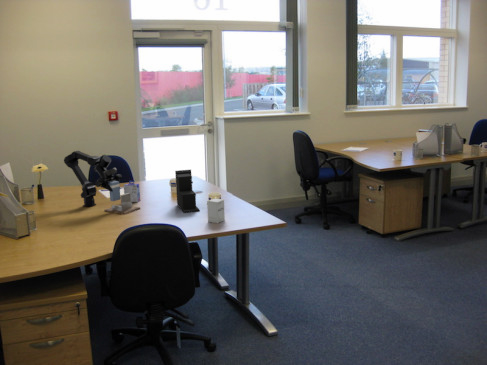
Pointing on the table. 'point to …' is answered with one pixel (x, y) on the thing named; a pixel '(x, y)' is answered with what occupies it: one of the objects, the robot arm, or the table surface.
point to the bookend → (185, 192)
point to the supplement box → (215, 210)
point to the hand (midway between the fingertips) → (116, 190)
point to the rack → (123, 205)
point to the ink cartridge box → (132, 191)
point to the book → (115, 191)
